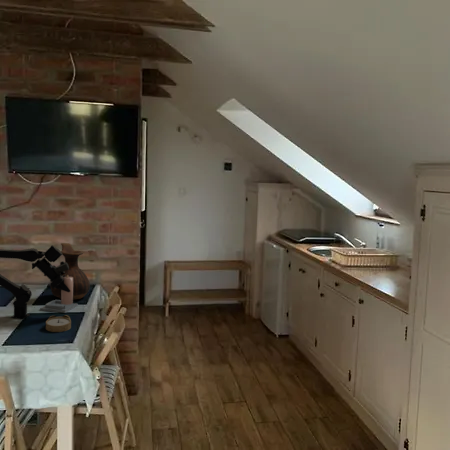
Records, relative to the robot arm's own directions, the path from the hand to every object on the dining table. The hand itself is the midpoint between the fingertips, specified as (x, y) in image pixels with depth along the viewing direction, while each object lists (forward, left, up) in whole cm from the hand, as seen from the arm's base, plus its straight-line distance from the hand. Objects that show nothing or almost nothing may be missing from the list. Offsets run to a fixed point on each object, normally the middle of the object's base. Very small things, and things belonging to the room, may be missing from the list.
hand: (70, 290), depth 253 cm
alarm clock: (-18, -4, -13) cm, 23 cm away
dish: (+10, +11, -13) cm, 20 cm away
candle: (-1, +1, -7) cm, 7 cm away
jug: (+32, +16, -13) cm, 38 cm away
